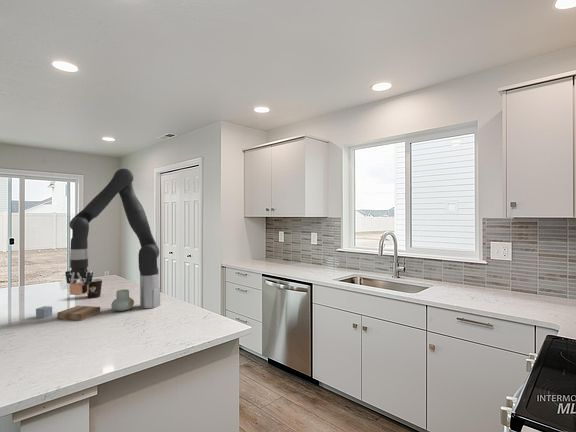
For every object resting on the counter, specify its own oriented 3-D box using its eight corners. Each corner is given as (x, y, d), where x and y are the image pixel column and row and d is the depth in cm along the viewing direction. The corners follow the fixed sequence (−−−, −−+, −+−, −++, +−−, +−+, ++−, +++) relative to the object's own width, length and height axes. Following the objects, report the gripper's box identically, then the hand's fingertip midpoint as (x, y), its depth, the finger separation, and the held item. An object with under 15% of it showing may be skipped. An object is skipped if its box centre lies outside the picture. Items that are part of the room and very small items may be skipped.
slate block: (52, 315, 161) (52, 306, 161) (43, 318, 157) (43, 309, 157) (44, 315, 162) (44, 306, 162) (36, 318, 158) (35, 308, 158)
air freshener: (125, 312, 165) (125, 293, 165) (109, 312, 165) (109, 293, 165) (135, 306, 176) (135, 288, 176) (120, 306, 176) (120, 288, 176)
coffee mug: (105, 295, 201) (105, 279, 200) (95, 298, 192) (95, 281, 192) (87, 294, 202) (87, 278, 202) (77, 298, 193) (77, 281, 193)
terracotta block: (88, 292, 163) (88, 282, 163) (79, 295, 157) (79, 284, 157) (78, 292, 164) (78, 282, 164) (69, 294, 158) (69, 284, 158)
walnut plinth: (100, 312, 165) (100, 306, 165) (81, 320, 153) (81, 314, 153) (77, 311, 168) (77, 305, 167) (57, 318, 156) (57, 312, 156)
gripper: (97, 257, 163) (97, 291, 163) (72, 256, 165) (72, 290, 166) (85, 259, 155) (85, 295, 155) (59, 258, 158) (60, 293, 158)
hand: (79, 292), depth 161 cm, fingers closed on terracotta block, 5 cm apart
